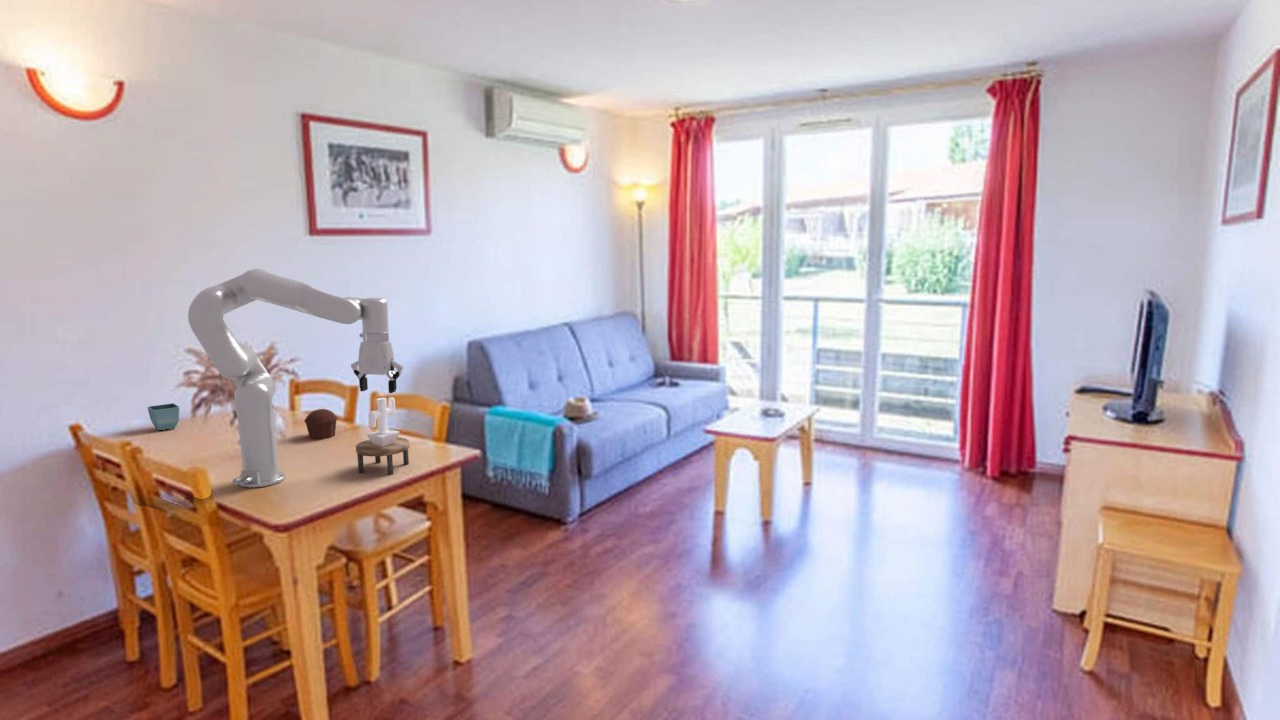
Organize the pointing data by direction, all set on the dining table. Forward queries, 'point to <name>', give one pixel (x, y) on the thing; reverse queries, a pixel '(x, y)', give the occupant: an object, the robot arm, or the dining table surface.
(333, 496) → the dining table surface
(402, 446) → the walnut stool
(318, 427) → the muffin
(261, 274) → the robot arm
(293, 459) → the dining table surface
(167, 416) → the flower pot
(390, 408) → the figurine
